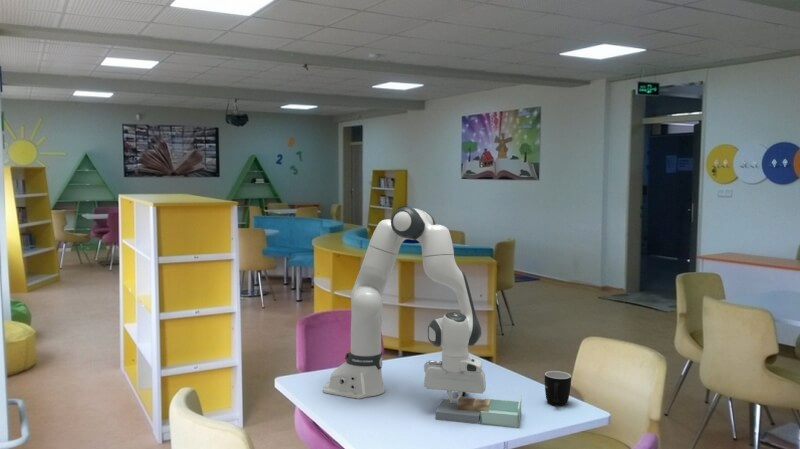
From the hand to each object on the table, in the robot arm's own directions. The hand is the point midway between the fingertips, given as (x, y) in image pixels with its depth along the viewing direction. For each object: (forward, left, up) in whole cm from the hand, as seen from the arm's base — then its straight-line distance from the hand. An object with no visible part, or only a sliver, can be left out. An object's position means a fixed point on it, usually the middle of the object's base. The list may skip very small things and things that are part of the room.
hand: (454, 403), depth 214 cm
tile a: (+9, 0, -1) cm, 9 cm away
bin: (+15, 0, -4) cm, 16 cm away
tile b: (+4, 0, -1) cm, 4 cm away
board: (+2, 0, -4) cm, 4 cm away
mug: (+33, +18, -4) cm, 38 cm away
